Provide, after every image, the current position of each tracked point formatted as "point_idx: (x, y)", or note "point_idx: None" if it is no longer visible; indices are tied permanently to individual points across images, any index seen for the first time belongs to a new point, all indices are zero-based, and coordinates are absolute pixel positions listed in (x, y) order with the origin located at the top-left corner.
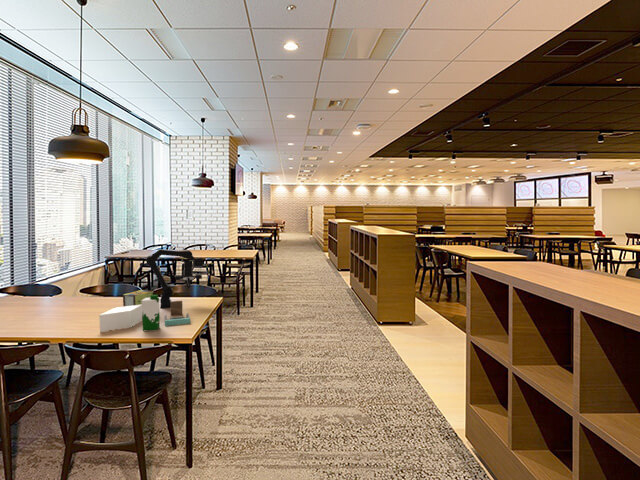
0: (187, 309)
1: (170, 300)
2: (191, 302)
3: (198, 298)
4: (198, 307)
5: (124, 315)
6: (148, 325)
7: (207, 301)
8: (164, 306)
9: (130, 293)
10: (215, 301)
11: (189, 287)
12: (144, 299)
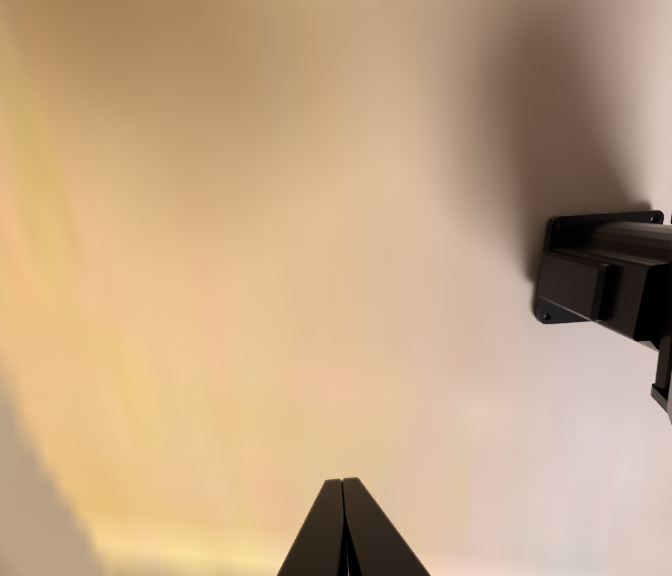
0: (327, 54)
1: (604, 271)
2: (311, 418)
3: (258, 558)
4: (189, 144)
5: None
6: None
7: (136, 431)
8: (623, 221)
9: None
10: (37, 416)
11: (314, 503)
12: None
